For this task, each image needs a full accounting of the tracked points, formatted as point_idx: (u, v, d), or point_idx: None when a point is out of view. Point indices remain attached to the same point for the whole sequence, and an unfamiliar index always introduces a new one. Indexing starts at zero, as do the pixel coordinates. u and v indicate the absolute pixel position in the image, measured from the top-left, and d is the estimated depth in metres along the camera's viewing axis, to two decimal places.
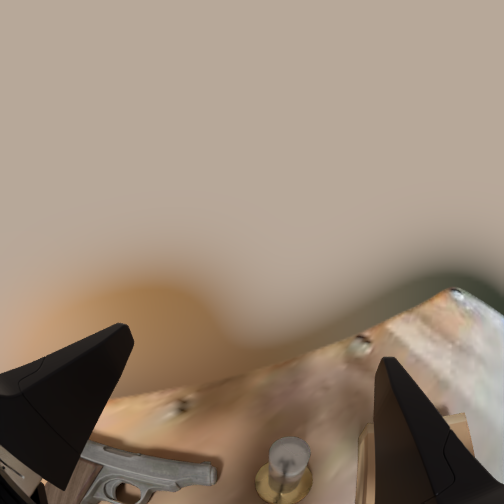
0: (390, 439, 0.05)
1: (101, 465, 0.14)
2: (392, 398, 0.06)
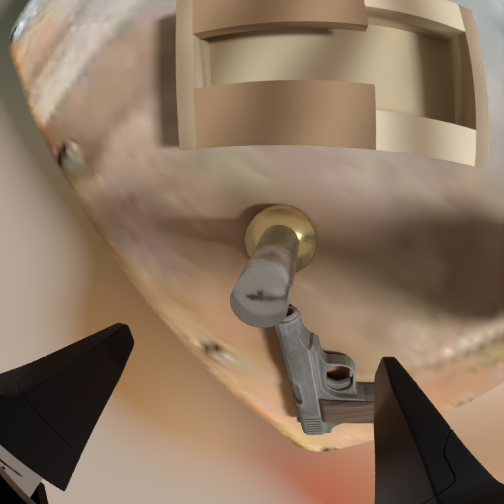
0: (390, 439, 0.05)
1: (319, 400, 0.20)
2: (392, 398, 0.06)
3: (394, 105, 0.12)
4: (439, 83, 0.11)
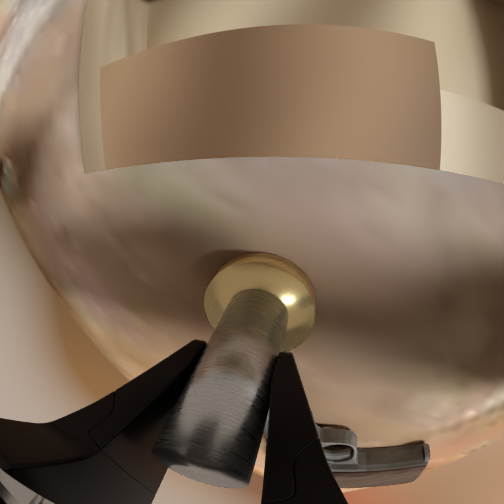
0: None
1: None
2: None
3: (450, 90, 0.06)
4: None
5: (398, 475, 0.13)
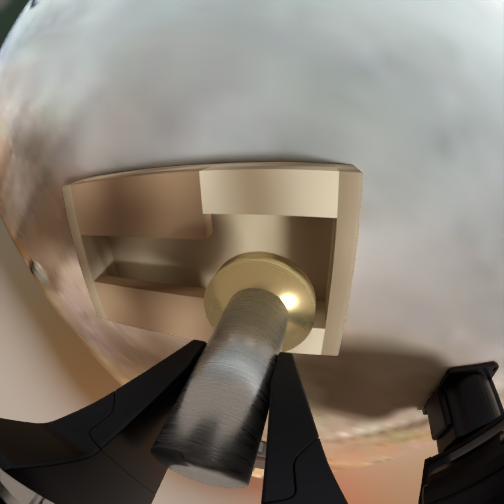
0: None
1: None
2: (270, 393, 0.06)
3: None
4: (310, 259, 0.15)
5: None
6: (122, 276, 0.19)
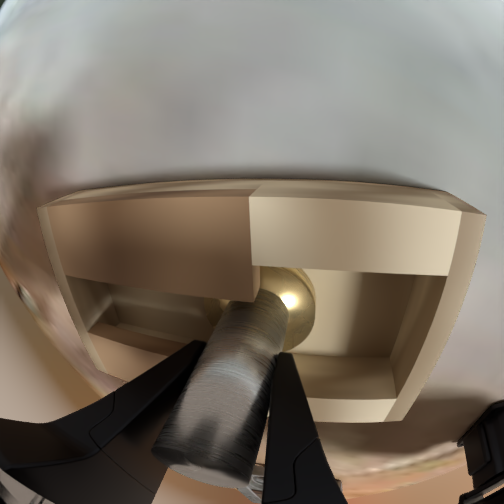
0: None
1: (252, 490, 0.20)
2: (270, 393, 0.06)
3: (306, 344, 0.12)
4: (382, 312, 0.10)
5: None
6: (124, 320, 0.14)
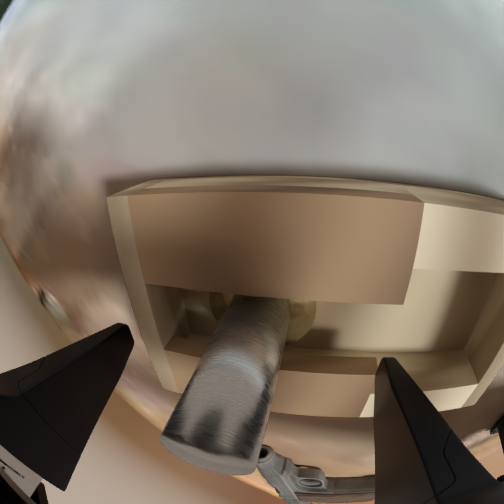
0: (390, 439, 0.05)
1: (295, 493, 0.19)
2: (392, 398, 0.06)
3: (402, 342, 0.11)
4: (467, 308, 0.10)
5: (357, 497, 0.18)
6: (198, 331, 0.14)
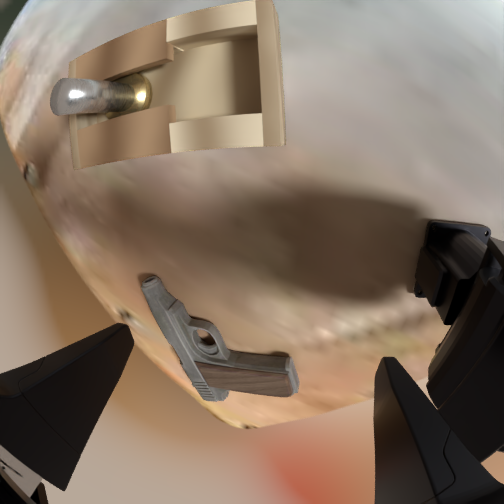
0: (390, 439, 0.05)
1: (195, 362, 0.25)
2: (392, 398, 0.06)
3: (208, 111, 0.17)
4: (251, 79, 0.16)
5: (264, 379, 0.24)
6: None
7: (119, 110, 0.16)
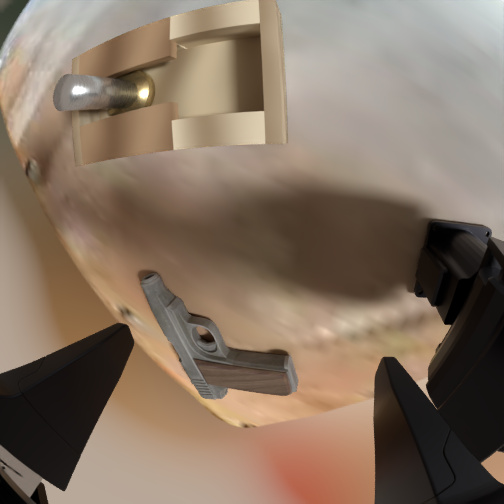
0: (390, 439, 0.05)
1: (194, 360, 0.25)
2: (392, 398, 0.06)
3: (210, 109, 0.17)
4: (253, 77, 0.16)
5: (262, 377, 0.24)
6: None
7: (122, 107, 0.16)
